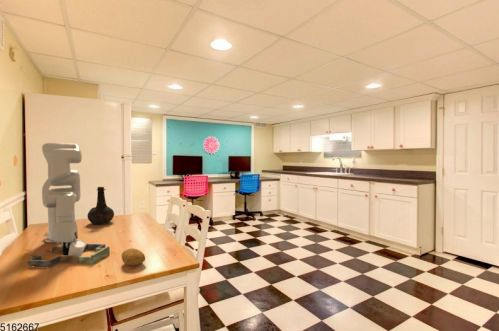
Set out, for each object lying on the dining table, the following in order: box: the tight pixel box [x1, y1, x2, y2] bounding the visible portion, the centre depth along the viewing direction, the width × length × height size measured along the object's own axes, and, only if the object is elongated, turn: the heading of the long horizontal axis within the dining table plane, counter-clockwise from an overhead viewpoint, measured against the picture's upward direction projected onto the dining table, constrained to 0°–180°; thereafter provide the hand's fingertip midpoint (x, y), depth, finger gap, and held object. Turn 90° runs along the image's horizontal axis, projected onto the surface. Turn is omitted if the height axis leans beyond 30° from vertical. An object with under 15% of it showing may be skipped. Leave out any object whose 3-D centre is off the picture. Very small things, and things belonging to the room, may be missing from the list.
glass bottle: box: [87, 186, 115, 226], centre depth 198 cm, size 18×18×28 cm
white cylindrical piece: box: [67, 239, 87, 256], centre depth 131 cm, size 7×7×7 cm
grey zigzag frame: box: [27, 243, 111, 269], centre depth 132 cm, size 32×24×4 cm
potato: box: [121, 247, 146, 267], centre depth 124 cm, size 9×13×7 cm
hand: (66, 254), depth 131 cm, fingers closed
